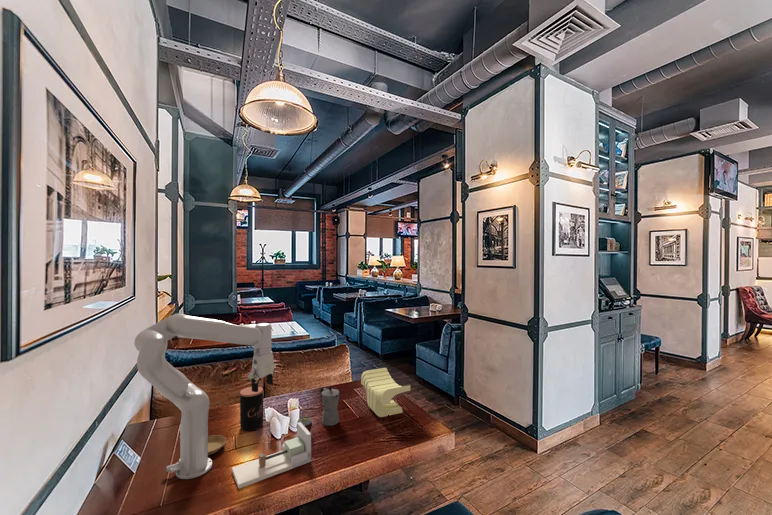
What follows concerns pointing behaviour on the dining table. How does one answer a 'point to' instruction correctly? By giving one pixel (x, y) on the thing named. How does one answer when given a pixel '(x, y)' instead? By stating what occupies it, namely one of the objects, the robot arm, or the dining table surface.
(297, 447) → the cord block
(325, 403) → the coffeepot
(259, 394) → the coffee jar
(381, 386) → the slatted curved stool
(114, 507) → the dining table surface
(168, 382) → the robot arm
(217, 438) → the plant saucer
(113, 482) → the dining table surface
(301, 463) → the shelf lane
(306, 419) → the mate gourd
